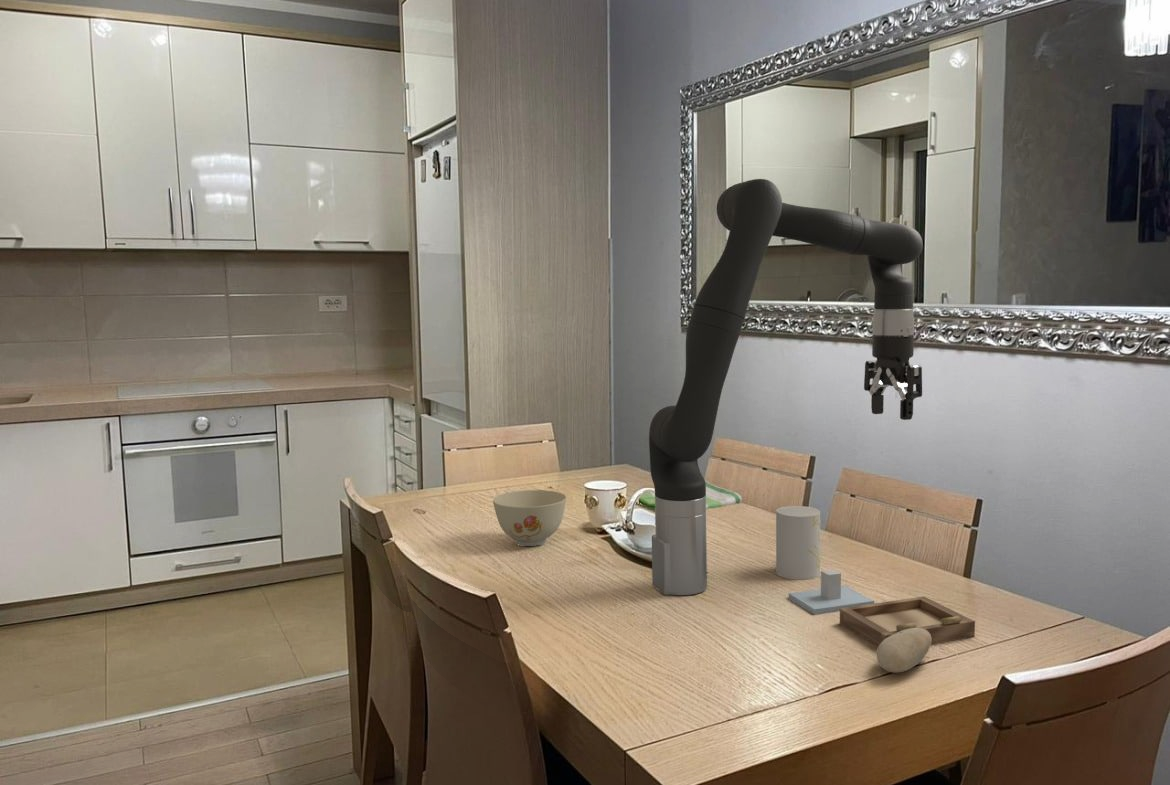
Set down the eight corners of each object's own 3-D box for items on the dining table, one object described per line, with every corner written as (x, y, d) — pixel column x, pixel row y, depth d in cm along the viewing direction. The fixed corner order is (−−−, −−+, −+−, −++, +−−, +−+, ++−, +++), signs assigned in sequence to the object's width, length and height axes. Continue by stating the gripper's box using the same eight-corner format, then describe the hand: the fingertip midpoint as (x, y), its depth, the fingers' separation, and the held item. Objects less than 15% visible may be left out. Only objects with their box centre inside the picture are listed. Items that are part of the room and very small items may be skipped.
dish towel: (743, 505, 225) (743, 491, 224) (667, 517, 214) (667, 503, 214) (704, 492, 240) (704, 479, 239) (631, 503, 229) (631, 490, 229)
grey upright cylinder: (821, 580, 164) (821, 517, 163) (776, 578, 166) (776, 515, 164) (818, 566, 172) (819, 506, 171) (776, 565, 174) (775, 505, 172)
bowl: (481, 549, 190) (479, 504, 188) (514, 530, 204) (513, 488, 203) (549, 556, 184) (547, 509, 182) (578, 536, 198) (577, 492, 197)
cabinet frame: (885, 651, 132) (885, 629, 131) (839, 622, 143) (839, 602, 143) (974, 636, 136) (975, 615, 136) (923, 610, 148) (924, 590, 147)
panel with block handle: (814, 617, 147) (814, 583, 147) (788, 600, 155) (788, 568, 155) (874, 608, 151) (874, 575, 150) (845, 592, 159) (846, 561, 158)
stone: (864, 658, 123) (886, 608, 133) (882, 695, 124) (903, 644, 133) (903, 654, 120) (924, 603, 129) (922, 693, 121) (941, 640, 130)
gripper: (853, 332, 175) (852, 413, 177) (901, 334, 162) (899, 422, 164) (885, 330, 178) (884, 411, 179) (934, 333, 164) (932, 420, 166)
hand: (891, 416), depth 171 cm, fingers open, 8 cm apart
